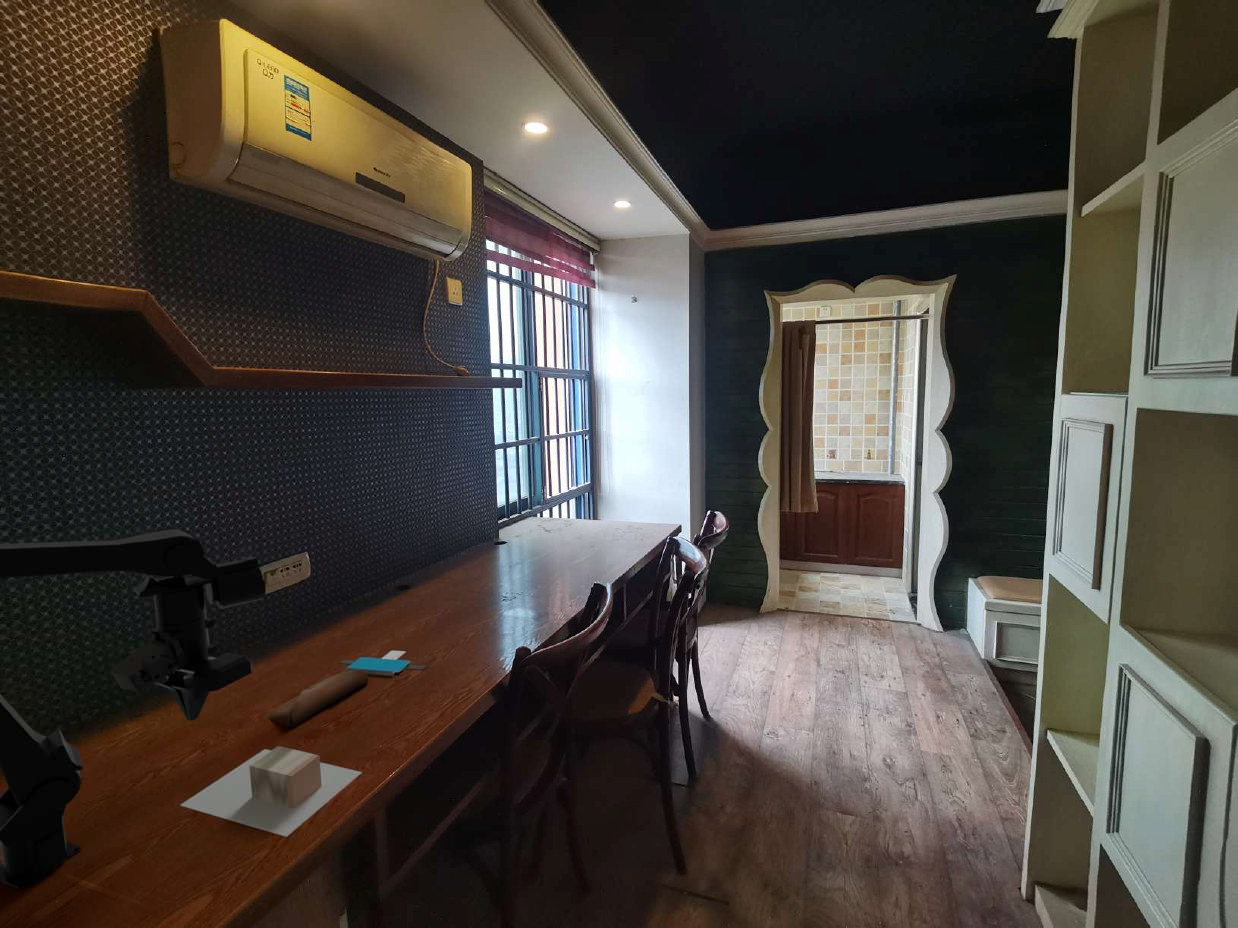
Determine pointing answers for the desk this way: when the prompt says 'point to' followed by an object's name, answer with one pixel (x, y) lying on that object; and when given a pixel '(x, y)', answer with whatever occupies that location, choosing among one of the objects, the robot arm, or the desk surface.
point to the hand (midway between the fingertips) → (192, 719)
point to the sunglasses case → (318, 697)
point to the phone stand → (382, 664)
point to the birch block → (285, 776)
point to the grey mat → (238, 805)
